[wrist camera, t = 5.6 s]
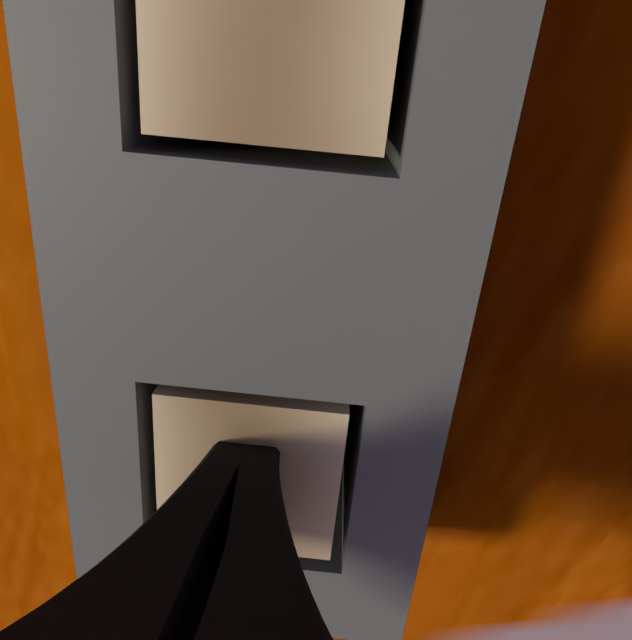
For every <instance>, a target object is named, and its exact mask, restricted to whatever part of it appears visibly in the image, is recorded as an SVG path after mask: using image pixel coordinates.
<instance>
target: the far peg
mask: <svg viewBox="0 0 632 640" xmlns="http://www.w3.org/2000/svg"><path fill="white" fill-rule="evenodd" d="M152 407H153V431H154V455H155V479H156V503H157V510H158V509H159V508H160V507H161V505H162V504H163V503H164V502H165V501H166V500H167V499H168V498H169V497H170V496H171V495H172V494H173V493H174V492H175V491H176V489H177V488H178V487H179V486H180V485H181V484H182V483H183V482H184V481H185V480H186V478H187V477H188V476H189V475H190V474H191V473H192V471H193V470H194V469H195V468H196V467H197V466H198V464H199V463H200V462H201V461H202V459H203V458H204V457H205V456H206V454H207V453H208V452H209V451H210V449H211V448H212V447H213V445H214V444H216V443H217V442H219V441H222V442H231V443H241V444H251V445H261V446H271V447H276V448H277V449H278V450H279V451H280V463H279V473H280V483H281V490H282V496H283V502H284V506H285V511H286V515H287V519H288V524H289V527H290V531H291V535H292V538H293V542H294V545H295V548H296V551H297V555H298V557H303V558H312V559H322V560H330V557H331V549H332V542H333V535H334V527H335V520H336V512H337V505H338V497H339V490H340V482H341V475H342V467H343V460H344V452H345V445H346V437H347V430H348V423H349V415H350V410H349V404H343V403H334V402H324V401H315V400H305V399H295V398H286V397H276V396H266V395H257V394H247V393H237V392H228V391H218V390H209V389H199V388H189V387H180V386H170V385H160V384H158V385H157V387H156V389H155V390H154V392H153V393H152Z"/></svg>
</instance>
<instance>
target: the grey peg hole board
mask: <svg viewBox="0 0 632 640" xmlns="http://www.w3.org/2000/svg"><path fill="white" fill-rule="evenodd" d="M2 1H3V9H4V17H5V25H6V32H7V40H8V48H9V56H10V64H11V71H12V79H13V87H14V95H15V102H16V110H17V118H18V126H19V134H20V141H21V149H22V157H23V165H24V172H25V180H26V188H27V196H28V204H29V211H30V219H31V227H32V235H33V243H34V250H35V258H36V266H37V274H38V281H39V289H40V297H41V305H42V313H43V320H44V328H45V336H46V344H47V351H48V359H49V367H50V375H51V383H52V390H53V398H54V406H55V414H56V422H57V429H58V437H59V445H60V453H61V460H62V468H63V476H64V484H65V492H66V499H67V507H68V515H69V523H70V530H71V538H72V546H73V554H74V562H75V569H76V577H77V579H78V578H79V577H81V576H82V575H83V574H85V573H86V572H87V571H89V570H90V569H91V568H93V567H94V566H95V565H96V564H98V563H99V562H100V561H101V560H102V559H104V558H105V557H106V556H107V555H109V554H110V553H111V552H112V551H113V550H115V549H116V548H117V547H118V546H119V545H120V544H121V543H123V542H124V541H125V540H126V539H127V538H128V537H129V536H130V535H132V534H133V533H134V532H135V531H136V530H137V529H138V528H139V527H140V526H141V525H142V524H143V523H144V522H145V521H146V520H147V519H148V518H149V517H150V516H151V515H152V514H153V513H154V512H155V511H156V510H157V503H156V479H155V455H154V431H153V407H152V393H153V392H154V390H155V389H156V387H157V385H158V384H160V385H170V386H180V387H189V388H199V389H209V390H218V391H228V392H237V393H247V394H257V395H266V396H276V397H286V398H295V399H305V400H315V401H324V402H334V403H343V404H351V406H350V415H349V423H348V430H347V437H346V445H345V452H344V460H343V467H342V475H341V482H340V490H339V497H338V505H337V512H336V520H335V527H334V535H333V542H332V549H331V557H330V560H322V559H312V558H303V557H298V558H299V561H300V563H301V566H302V569H303V572H304V575H305V577H306V580H307V582H308V585H309V587H310V590H311V593H312V595H313V597H314V600H315V602H316V604H317V607H318V609H319V611H320V613H321V616H322V618H323V620H324V622H325V624H326V626H327V628H328V630H329V632H330V634H331V636H332V638H338V639H347V640H402V636H403V632H404V628H405V623H406V619H407V614H408V610H409V605H410V601H411V597H412V592H413V588H414V583H415V579H416V574H417V570H418V566H419V561H420V557H421V552H422V548H423V543H424V539H425V535H426V530H427V526H428V521H429V517H430V512H431V508H432V504H433V499H434V495H435V490H436V486H437V482H438V477H439V473H440V468H441V464H442V459H443V455H444V451H445V446H446V442H447V437H448V433H449V428H450V424H451V420H452V415H453V411H454V406H455V402H456V397H457V393H458V389H459V384H460V380H461V375H462V371H463V366H464V362H465V358H466V353H467V349H468V344H469V340H470V336H471V331H472V327H473V322H474V318H475V313H476V309H477V305H478V300H479V296H480V291H481V287H482V282H483V278H484V274H485V269H486V265H487V260H488V256H489V251H490V247H491V243H492V238H493V234H494V229H495V225H496V220H497V216H498V212H499V207H500V203H501V198H502V194H503V190H504V185H505V181H506V176H507V172H508V167H509V163H510V159H511V154H512V150H513V145H514V141H515V136H516V132H517V128H518V123H519V119H520V114H521V110H522V105H523V101H524V97H525V92H526V88H527V83H528V79H529V75H530V70H531V66H532V61H533V57H534V52H535V48H536V44H537V39H538V35H539V30H540V26H541V21H542V17H543V13H544V8H545V4H546V0H405V5H404V12H403V20H402V27H401V35H400V42H399V50H398V57H397V64H396V72H395V79H394V87H393V94H392V102H391V109H390V117H389V124H388V132H387V139H386V147H385V154H384V158H382V157H372V156H362V155H352V154H341V153H331V152H321V151H311V150H300V149H290V148H280V147H270V146H259V145H249V144H239V143H229V142H218V141H208V140H198V139H188V138H177V137H167V136H157V135H147V134H141V120H140V96H139V73H138V49H137V25H136V1H135V0H2Z"/></svg>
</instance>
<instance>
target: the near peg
mask: <svg viewBox="0 0 632 640" xmlns="http://www.w3.org/2000/svg"><path fill="white" fill-rule="evenodd" d="M135 1H136V25H137V49H138V73H139V96H140V120H141V134H147V135H157V136H167V137H177V138H188V139H198V140H208V141H218V142H229V143H239V144H249V145H259V146H270V147H280V148H290V149H300V150H311V151H321V152H331V153H341V154H352V155H362V156H372V157H382V158H384V154H385V147H386V139H387V132H388V124H389V117H390V109H391V102H392V94H393V87H394V79H395V72H396V64H397V57H398V50H399V42H400V35H401V27H402V20H403V12H404V5H405V0H135Z"/></svg>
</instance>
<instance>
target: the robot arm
mask: <svg viewBox="0 0 632 640" xmlns="http://www.w3.org/2000/svg"><path fill="white" fill-rule="evenodd" d="M279 463H280V451H279V450H278V449H277V448H276V447H271V446H261V445H251V444H241V443H231V442H222V441H219V442H217V443H216V444H214V445H213V447H212V448H211V449H210V451H209V452H208V453H207V454H206V456H205V457H204V458H203V459H202V461H201V462H200V463H199V464H198V466H197V467H196V468H195V469H194V470H193V471H192V473H191V474H190V475H189V476H188V477H187V478H186V480H185V481H184V482H183V483H182V484H181V485H180V486H179V487H178V488H177V489H176V491H175V492H174V493H173V494H172V495H171V496H170V497H169V498H168V499H167V500H166V501H165V502H164V503H163V504H162V505H161V507H160V508H159V509H158V510H156V511H155V512H154V513H153V514H152V515H151V516H150V517H149V518H148V519H147V520H146V521H145V522H144V523H143V524H142V525H141V526H140V527H139V528H138V529H137V530H136V531H135V532H134V533H133V534H132V535H130V536H129V537H128V538H127V539H126V540H125V541H124V542H123V543H121V544H120V545H119V546H118V547H117V548H116V549H115V550H113V551H112V552H111V553H110V554H109V555H107V556H106V557H105V558H104V559H102V560H101V561H100V562H99V563H98V564H96V565H95V566H94V567H93V568H91V569H90V570H89V571H87V572H86V573H85V574H83V575H82V576H81V577H79V578H78V579H77V580H75V581H74V582H73V583H71V584H70V585H69V586H67V587H66V588H65V589H63V590H62V591H61V592H59V593H58V594H57V595H55V596H54V597H52V598H51V599H49V600H48V601H47V602H45V603H44V604H42V605H41V606H39V607H38V608H36V609H35V610H33V611H31V612H30V613H28V614H27V615H25V616H24V617H22V618H20V619H19V620H17V621H16V622H14V623H13V624H11V625H9V626H8V627H6V628H5V629H3V630H2V631H0V640H333V638H332V636H331V634H330V632H329V630H328V628H327V626H326V624H325V622H324V620H323V618H322V616H321V613H320V611H319V609H318V607H317V604H316V602H315V600H314V597H313V595H312V593H311V590H310V587H309V585H308V582H307V580H306V577H305V575H304V572H303V569H302V566H301V563H300V561H299V558H298V555H297V551H296V548H295V545H294V542H293V538H292V535H291V531H290V527H289V524H288V519H287V515H286V511H285V506H284V502H283V496H282V490H281V483H280V473H279Z"/></svg>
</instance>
